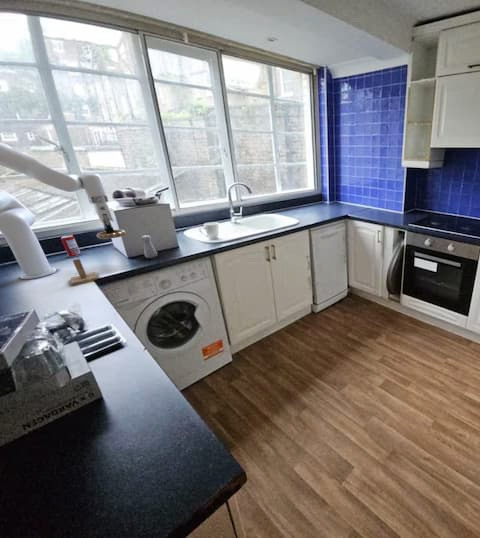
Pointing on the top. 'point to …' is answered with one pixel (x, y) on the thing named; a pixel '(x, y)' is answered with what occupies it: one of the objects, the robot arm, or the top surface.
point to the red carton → (71, 246)
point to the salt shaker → (148, 247)
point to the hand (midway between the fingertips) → (110, 234)
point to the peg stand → (82, 274)
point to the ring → (114, 235)
